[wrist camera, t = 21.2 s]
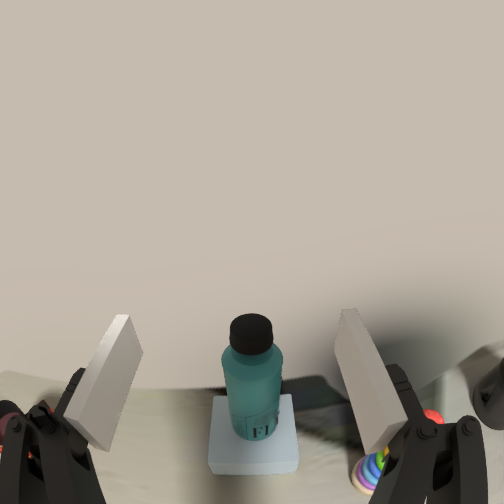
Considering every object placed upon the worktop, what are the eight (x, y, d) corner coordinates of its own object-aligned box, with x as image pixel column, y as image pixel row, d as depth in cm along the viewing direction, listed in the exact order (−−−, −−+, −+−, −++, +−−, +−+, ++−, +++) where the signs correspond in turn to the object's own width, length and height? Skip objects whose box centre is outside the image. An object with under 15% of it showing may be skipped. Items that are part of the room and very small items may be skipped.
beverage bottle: (250, 454, 28) (245, 361, 20) (222, 424, 33) (201, 320, 25) (287, 429, 32) (303, 326, 23) (257, 402, 37) (256, 295, 28)
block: (294, 472, 29) (299, 460, 27) (213, 474, 29) (207, 462, 27) (288, 412, 40) (290, 394, 38) (217, 414, 40) (213, 395, 38)
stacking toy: (339, 484, 26) (385, 432, 18) (366, 448, 32) (411, 379, 24) (381, 503, 21) (449, 457, 14) (404, 464, 27) (466, 400, 19)
